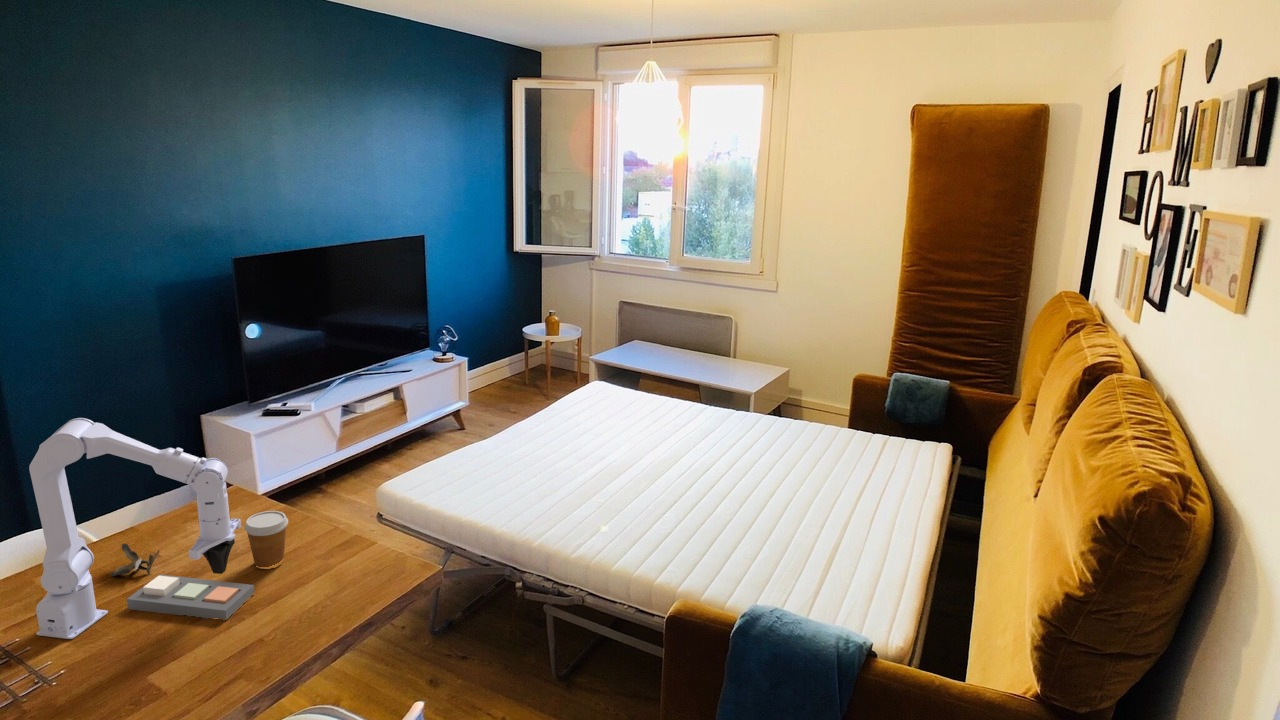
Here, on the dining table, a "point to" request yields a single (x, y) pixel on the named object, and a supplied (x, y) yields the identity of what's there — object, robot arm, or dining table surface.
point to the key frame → (191, 606)
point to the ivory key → (161, 586)
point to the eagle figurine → (134, 562)
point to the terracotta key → (221, 595)
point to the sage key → (191, 591)
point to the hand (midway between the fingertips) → (219, 571)
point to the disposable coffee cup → (267, 537)
